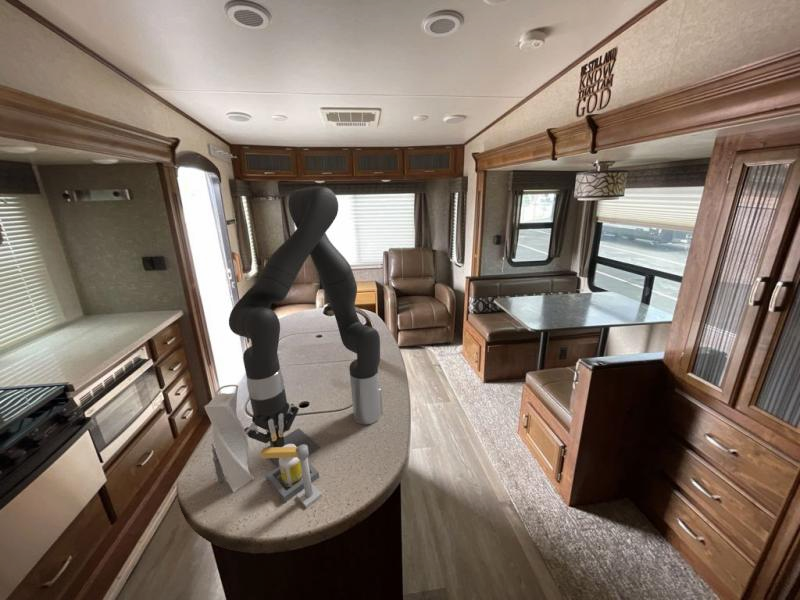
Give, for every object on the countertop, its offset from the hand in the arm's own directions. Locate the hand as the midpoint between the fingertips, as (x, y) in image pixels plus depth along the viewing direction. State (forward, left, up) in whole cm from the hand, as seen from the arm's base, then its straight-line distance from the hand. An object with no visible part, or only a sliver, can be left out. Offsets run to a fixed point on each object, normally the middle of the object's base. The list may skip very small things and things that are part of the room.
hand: (278, 448), depth 77 cm
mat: (-8, -11, -13) cm, 18 cm away
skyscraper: (+7, -12, -13) cm, 19 cm away
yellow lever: (0, +4, 0) cm, 4 cm away
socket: (-3, +2, -13) cm, 13 cm away
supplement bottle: (-3, -1, -13) cm, 13 cm away
